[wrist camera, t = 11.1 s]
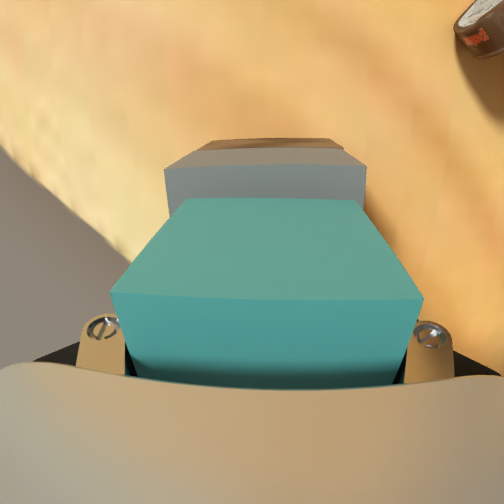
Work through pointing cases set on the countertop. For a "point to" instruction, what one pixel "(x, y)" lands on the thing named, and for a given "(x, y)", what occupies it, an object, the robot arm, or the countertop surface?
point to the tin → (482, 28)
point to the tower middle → (266, 175)
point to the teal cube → (267, 297)
